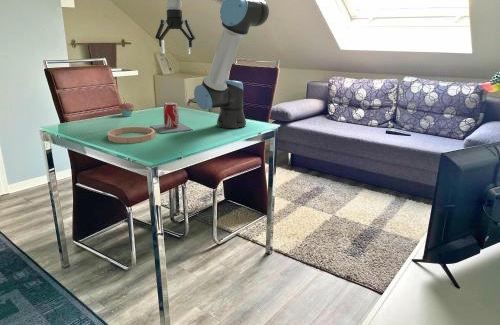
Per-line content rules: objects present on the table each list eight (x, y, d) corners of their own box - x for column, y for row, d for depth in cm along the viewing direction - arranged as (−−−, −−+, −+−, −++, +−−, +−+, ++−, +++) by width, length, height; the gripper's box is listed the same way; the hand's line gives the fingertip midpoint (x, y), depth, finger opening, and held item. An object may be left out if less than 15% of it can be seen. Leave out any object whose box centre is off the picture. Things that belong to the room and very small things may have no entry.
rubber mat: (180, 123, 198) (180, 122, 198) (192, 130, 185) (192, 129, 185) (150, 127, 190) (150, 125, 190) (160, 134, 177) (160, 132, 177)
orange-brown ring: (161, 132, 179) (160, 127, 178) (144, 144, 160) (144, 138, 160) (120, 130, 181) (120, 125, 181) (99, 141, 163) (99, 136, 162)
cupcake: (130, 117, 210) (128, 95, 206) (116, 116, 212) (113, 95, 208) (137, 114, 218) (135, 93, 214) (123, 113, 220) (122, 92, 216)
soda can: (172, 129, 183) (170, 104, 179) (161, 127, 186) (160, 103, 183) (181, 127, 189) (181, 103, 185) (171, 125, 192) (170, 101, 188)
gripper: (200, 10, 190) (201, 54, 197) (152, 9, 193) (155, 52, 199) (196, 9, 183) (197, 54, 190) (147, 8, 186) (149, 53, 192)
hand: (176, 53), depth 194 cm, fingers open, 13 cm apart
